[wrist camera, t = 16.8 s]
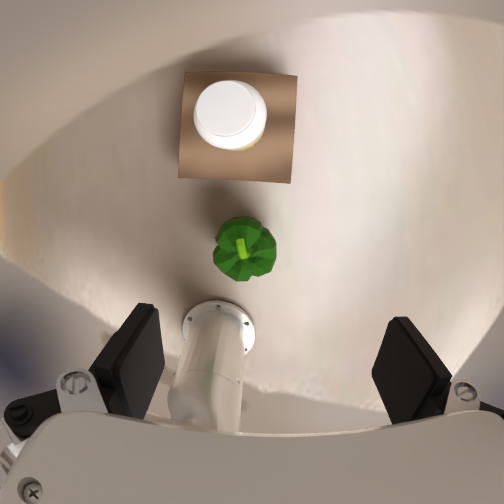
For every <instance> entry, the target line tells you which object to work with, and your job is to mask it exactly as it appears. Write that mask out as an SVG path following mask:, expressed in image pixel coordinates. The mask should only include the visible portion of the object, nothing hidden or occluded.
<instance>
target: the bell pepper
mask: <svg viewBox="0 0 504 504" xmlns="http://www.w3.org/2000/svg"><path fill="white" fill-rule="evenodd" d="M215 239H216V241H217V243H218V246H217V247H216V248H215V250H214V252H213V260H214V264H215V265H216V266H217V267H218V268H219V269H220V270H221V271H222V272H223V273H224V274H226V275H227V276H229V277H230V278H232V279H234V280H235V281H248V280H249V279H250V277H251V276H252V275H253V276H257V277H259V276H261V275H264V274H266V273H269V272H271V270H272V268H273V265H274V262H275V260H276V241H275V239H274V237H273V236H272V234H271V233H270V232H269V230H268V229H266V228H264V227H262V226H261V223H260V222H259V221H257V220H255V219H253V218H250V217H234V218H233V219H231V220H229V221H227V222H226V223H224V224H223V226H222V227H221V229H220V231H219V233H218V234H217V236H216V238H215Z"/></svg>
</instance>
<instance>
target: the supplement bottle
mask: <svg viewBox="0 0 504 504" xmlns="http://www.w3.org/2000/svg"><path fill="white" fill-rule="evenodd" d="M266 117H267V110H266V105H265V102H264V100H263V98H262V96H261V95H260V93H259V92H258V91H257V90H256V89H255V88H253V87H252V86H250V85H249V84H247V83H244V82H241V81H236V80H226V81H219V82H216V83H214V84H211V85H210V86H208V87H207V88H206V89H205V90H204V91H203V92H202V93H201V94H200V96H199V98H198V100H197V102H196V105H195V108H194V123H195V126H196V129H197V131H198V133H199V134H200V136H201V137H202V138H203V139H204V140H205V141H206V142H208V143H209V144H211V145H213V146H215V147H218V148H222V149H227V150H232V151H241V150H245V149H248V148H250V147H252V146H253V145H255V144H256V143H257V142H258V141H259V140H260V138H261V137H262V135H263V132H264V129H265V123H266Z"/></svg>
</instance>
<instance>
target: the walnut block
mask: <svg viewBox="0 0 504 504" xmlns="http://www.w3.org/2000/svg"><path fill="white" fill-rule="evenodd" d="M226 80H236V81H241V82H244V83H247V84H249V85H250V86H252V87H253V88H255V89H256V90H257V91H258V92H259V93H260V95H261V96H262V98H263V100H264V102H265V105H266V110H267V117H266V123H265V129H264V132H263V135H262V137H261V138H260V140H259V141H258V142H257V143H256V144H255V145H253V146H252V147H250V148H248V149H245V150H241V151H232V150H227V149H222V148H218V147H215V146H213V145H211V144H209V143H208V142H206V141H205V140H204V139H203V138H202V137H201V136H200V134H199V133H198V131H197V129H196V126H195V123H194V108H195V105H196V102H197V100H198V98H199V96H200V94H201V93H202V92H203V91H204V90H205V89H206V88H207V87H208V86H210V85H211V84H214V83H216V82H219V81H226ZM296 95H297V76H293V75H283V74H272V73H257V72H186V73H185V78H184V89H183V100H182V112H181V127H180V144H179V168H178V178H201V179H227V180H246V181H262V182H275V183H288V184H290V183H291V171H292V158H293V144H294V129H295V113H296Z"/></svg>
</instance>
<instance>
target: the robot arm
mask: <svg viewBox="0 0 504 504" xmlns="http://www.w3.org/2000/svg"><path fill="white" fill-rule="evenodd" d="M218 305H220V306H218ZM182 331H183V336H184V339H185V341H186V343H185V345H184V348H183V351H182V354H181V356H180V359H179V362H178V365H177V367H176V370H175V373H174V376H173V379H172V382H171V384H170V387H169V391H168V395H167V403H168V409H169V412H170V415H171V418H172V419H169V418H166V417H163V416H160V415H157V414H154V413H152V412H149V411H147V410H148V407H149V405H150V402H151V399H152V397H153V394H154V392H155V389H156V387H157V384H158V382H159V379H160V377H161V374H162V372H163V369H164V365H165V360H164V353H163V346H162V338H161V330H160V322H159V312H158V309H157V308H154V306H153V304H146V303H138V304H137V306H136V307H135V308H134V310H133V311H132V312H131V314H130V315H129V316H128V318H127V319H126V320H125V322H124V323H123V325H122V326H121V327H120V329H119V330H118V331H117V332H115V333H114V334H113V336H112V337H111V338H110V340H109V341H108V343H107V344H106V345H105V347H104V348H103V350H102V351H101V353H100V354H99V355H98V357H97V358H96V360H95V361H94V363H93V364H92V365H91V367H90V369H89V370H88V371H87V370H85V369H80V368H76V369H70V370H67V371H65V372H64V373H62V374H61V375H60V376H59V377H58V379H57V382H56V389H54V390H50V391H47V392H44V393H40V394H36V395H33V396H29V397H25V398H21V399H17V400H15V401H13V402H11V403H10V404H9V405H8V406H7V407H6V409H5V412H4V417H3V418H0V504H504V410H501V409H499V408H496V407H494V406H491V405H488V404H486V403H484V402H481V401H480V391H479V389H478V388H477V387H476V386H475V385H474V384H473V383H471V382H469V381H467V380H456V381H455V382H453V383H451V382H450V379H451V377H452V375H451V373H450V372H449V370H448V369H447V368H446V366H445V365H444V364H443V362H442V361H441V359H440V358H439V357H438V355H437V354H436V353H435V351H434V350H433V349H432V347H431V346H430V345H429V344H428V342H427V341H426V340H425V338H424V337H423V336H422V334H421V333H420V332H419V331H418V329H417V328H416V327H415V326H414V324H413V323H412V322H411V321H410V319H409V318H408V317H394V318H393V319H392V320H391V321H389V323H388V326H387V329H386V332H385V335H384V338H383V341H382V344H381V347H380V350H379V352H378V355H377V358H376V360H375V363H374V366H373V368H372V378H373V380H374V382H375V385H376V387H377V389H378V392H379V394H380V396H381V399H382V401H383V403H384V406H385V408H386V410H387V413H388V415H389V418H390V420H391V422H392V425H387V426H381V427H374V428H366V429H358V430H349V431H338V432H326V433H325V432H324V433H303V434H263V433H241V431H240V415H241V399H242V385H243V371H244V357H245V354H246V353H248V352H249V350H250V349H251V348H252V346H253V344H254V340H255V327H254V324H253V322H252V320H251V318H250V317H249V315H248V314H247V313H246V312H245V311H244V310H243V309H241V308H240V307H238V306H236V305H234V304H232V303H229V302H226V301H219V300H211V301H206V302H202V303H200V304H197V305H196V306H194V307H193V308H192V309H191V310H190V311H189V312H188V313H187V315H186V317H185V319H184V322H183V327H182Z"/></svg>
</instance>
